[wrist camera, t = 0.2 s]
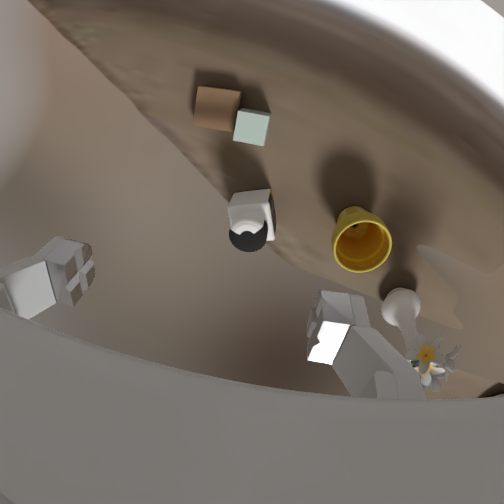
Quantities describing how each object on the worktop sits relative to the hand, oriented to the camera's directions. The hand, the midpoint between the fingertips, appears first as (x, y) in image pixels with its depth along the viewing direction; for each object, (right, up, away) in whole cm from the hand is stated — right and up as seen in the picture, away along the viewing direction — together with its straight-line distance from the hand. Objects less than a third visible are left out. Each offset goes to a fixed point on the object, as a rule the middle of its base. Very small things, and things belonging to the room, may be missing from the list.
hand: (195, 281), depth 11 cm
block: (-4, +26, +40) cm, 48 cm away
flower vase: (+35, -10, +57) cm, 67 cm away
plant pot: (+21, +7, +49) cm, 54 cm away
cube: (+2, +23, +41) cm, 47 cm away
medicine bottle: (+3, +9, +50) cm, 51 cm away
